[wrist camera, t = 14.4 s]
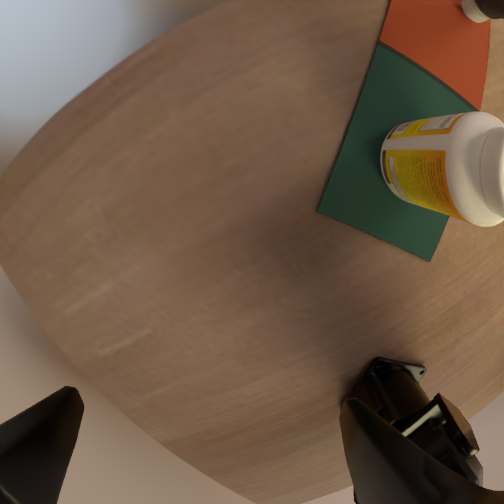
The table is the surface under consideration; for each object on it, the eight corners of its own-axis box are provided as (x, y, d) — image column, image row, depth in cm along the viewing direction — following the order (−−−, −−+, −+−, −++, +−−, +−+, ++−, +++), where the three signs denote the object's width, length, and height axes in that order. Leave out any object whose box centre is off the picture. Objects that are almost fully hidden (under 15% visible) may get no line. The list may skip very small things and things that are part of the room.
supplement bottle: (423, 215, 19) (528, 261, 9) (363, 178, 18) (468, 201, 8) (451, 149, 17) (559, 159, 7) (394, 106, 16) (503, 80, 7)
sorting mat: (489, 12, 13) (490, 11, 13) (428, 261, 20) (430, 262, 20) (404, -50, 12) (405, -51, 11) (316, 211, 19) (316, 212, 18)
